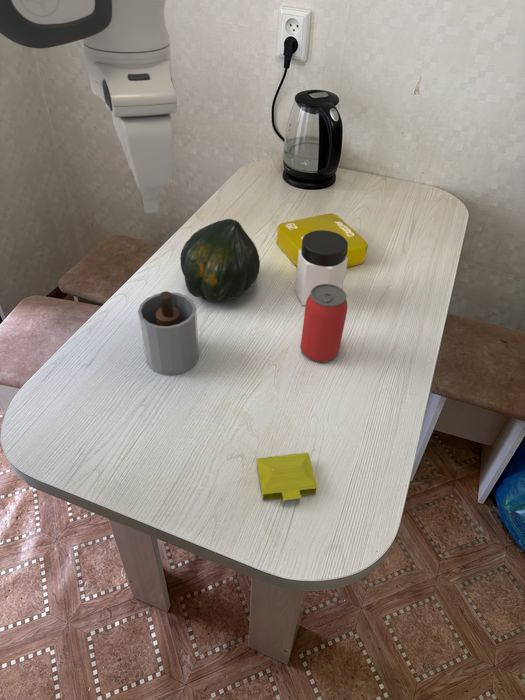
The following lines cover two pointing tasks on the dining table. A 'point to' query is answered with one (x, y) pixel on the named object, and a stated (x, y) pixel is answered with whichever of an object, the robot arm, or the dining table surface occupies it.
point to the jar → (320, 262)
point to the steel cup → (170, 336)
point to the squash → (220, 261)
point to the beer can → (324, 322)
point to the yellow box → (296, 230)
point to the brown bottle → (167, 311)
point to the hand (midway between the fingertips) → (144, 192)
